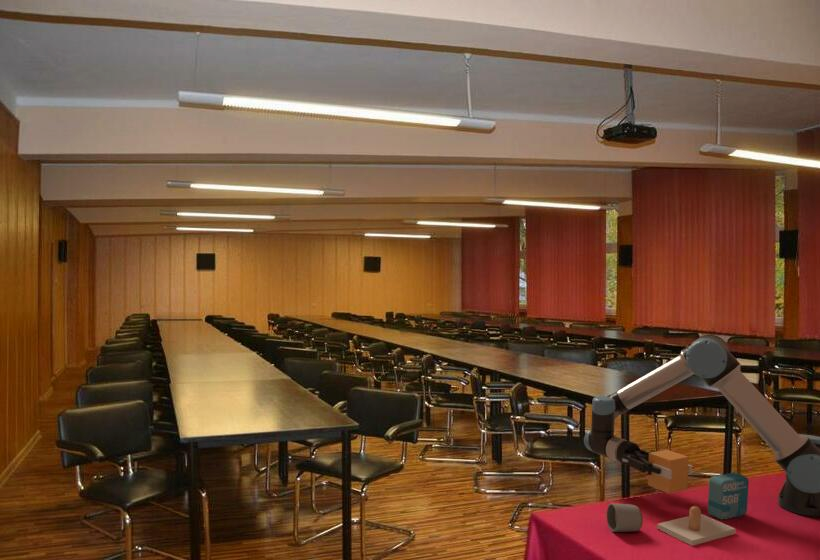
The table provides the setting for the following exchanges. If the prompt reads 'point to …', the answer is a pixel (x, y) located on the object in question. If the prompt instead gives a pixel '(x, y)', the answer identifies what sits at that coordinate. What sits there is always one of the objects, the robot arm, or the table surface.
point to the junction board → (696, 536)
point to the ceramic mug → (624, 517)
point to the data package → (728, 495)
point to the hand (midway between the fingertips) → (681, 472)
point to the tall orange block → (676, 464)
